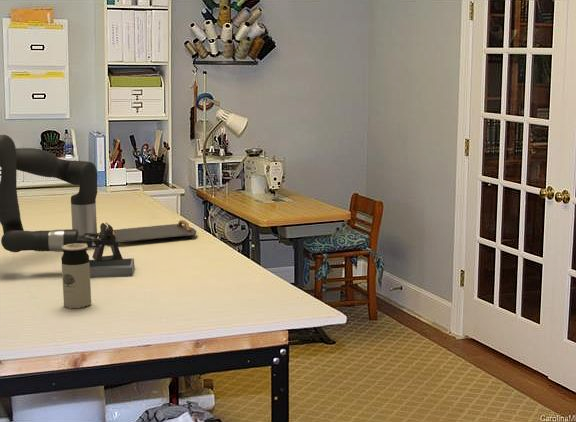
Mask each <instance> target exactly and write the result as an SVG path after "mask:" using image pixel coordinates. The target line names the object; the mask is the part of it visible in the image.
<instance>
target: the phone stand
mask: <svg viewBox="0 0 576 422" xmlns="http://www.w3.org/2000/svg"><path fill="white" fill-rule="evenodd" d="M106 227H108V229H107V230H105V228H106ZM99 229H100V231H99V233H100V235H99V236H98V238H101V239H106V238H107V236H108V239H110V238H112V239H113V242H114V244H113V245H109V246H110V250H111V252H112V254H111V255H104V249H105V247H106V245H102V246H99V247H98V248H97V247H95V248H94V250H93V253H92V257H91V258H92V260H96V261H97V262H99V261H109V260H110V261H111V260H122V259H123V255H122V253H121V252H120V248H119V246H117V243H116V241H115V238H114V236H113V230H114V228H113V226H111V224H109V223H108V222H105V223H104V222H102V223H101V224H100V226H99ZM103 255H104V256H103Z"/></svg>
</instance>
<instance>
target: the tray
mask: <svg viewBox="0 0 576 422" xmlns="http://www.w3.org/2000/svg"><path fill="white" fill-rule="evenodd" d="M89 266H90V279H92V278H116V277H133V275H134V270H135V258H133V257H132V258H130V257H129V258H122V260H111V261H110V260H109V261H99V262H97V261H96V260H94V259H89Z"/></svg>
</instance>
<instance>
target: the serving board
mask: <svg viewBox="0 0 576 422" xmlns="http://www.w3.org/2000/svg"><path fill="white" fill-rule="evenodd" d="M107 229H108V226H107V227H106V228H105V230H107ZM113 235H115V241H116V243H117V246H118V247H119V246H120V244H119V243H127V242H128V243H129V242H135V241H136V242H138V241H146V240H147V241H149V240H155V239H157V240H158V239H166V238H176V237H187V236H188V239H189V240H194V239H195V235H197V230H195V228H193V227H191V226H190V225H189V223H188V222H187V221H186V220H184V219H181V220H179V221H178V223H175V224H174V223H173V224H172V223H171V224H162V225H152V226H151V225H150V226H141V227H140V226H139V227H131V228H130V227H129V228H120V229H113Z"/></svg>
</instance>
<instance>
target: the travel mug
mask: <svg viewBox="0 0 576 422" xmlns="http://www.w3.org/2000/svg"><path fill="white" fill-rule="evenodd" d="M87 247H88V246H87V245H86V244H68V245H64V246H62V249H63V254H62V255H61V260H60V261H61V275H62V276H61V277H62V291H63V292H62V295H63V306H64V307H66V308H68V307H71V308H70V309H79V308H78V307H83V308H86V307H85V306H87V307H89V306H90V305H91V304H92V289H91V278H90V266H89V260H90V255H89V253H88V252H87V250H88V249H87ZM88 305H89V306H88Z"/></svg>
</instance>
